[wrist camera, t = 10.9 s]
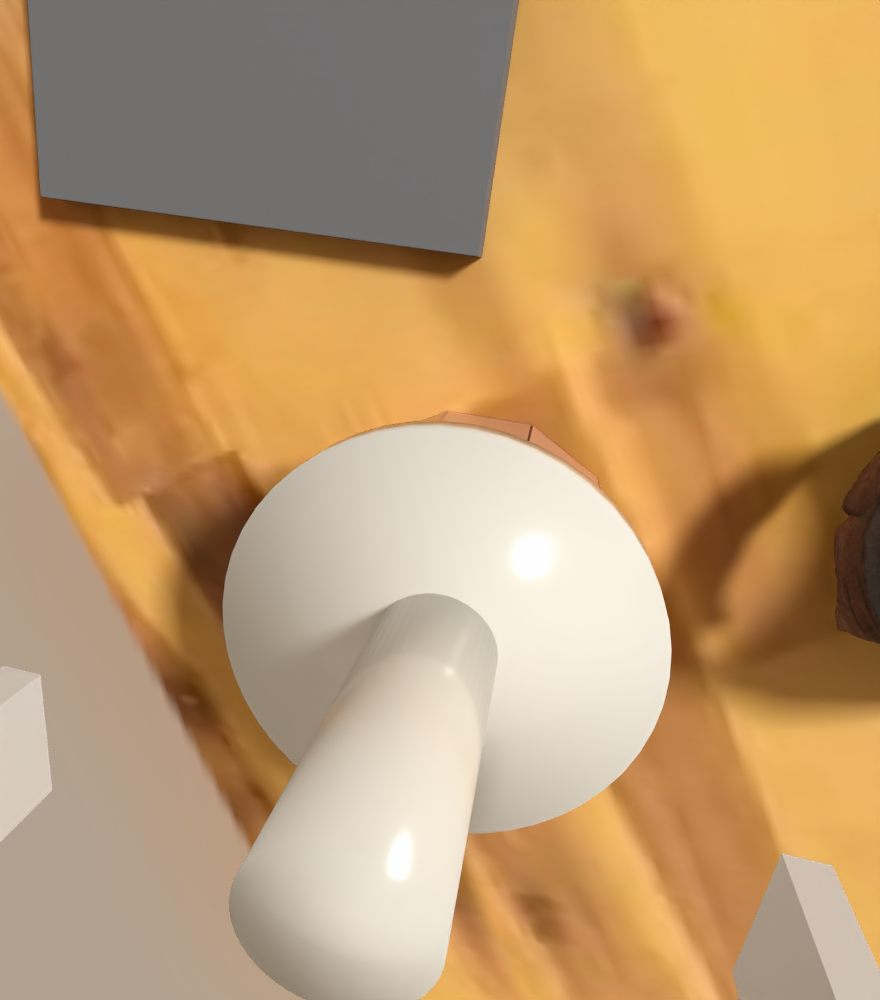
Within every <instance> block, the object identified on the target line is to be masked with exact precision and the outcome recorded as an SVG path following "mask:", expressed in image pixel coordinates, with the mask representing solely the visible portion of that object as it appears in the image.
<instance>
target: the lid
mask: <svg viewBox="0 0 880 1000" xmlns="http://www.w3.org/2000/svg"><path fill="white" fill-rule="evenodd" d="M223 629H224V635H225V641H226V647H227V653H228V656H229V660H230V663H231V666H232V670H233V673H234V676H235V679H236V681H237V683H238V686H239V688H240V690H241V692H242V695H243V697H244V699H245V701H246V703H247V704H248V706H249V708H250V710H251V711H252V713H253V715H254V716H255V718H256V720H257V721H258V723H259V724H260V726H261V727H262V728H263V730H264V731H265V732H266V734H267V735H268V736H269V738H270V739H271V740H272V742H273V743H274V744H275V745H276V746H277V747H278V748H279V749H280V750H281V751H282V752H283V753H284V755H285V756H286V757H287V758H288V759H289V760H290V761H291V762H292V763H293V764H295V765H296V766H297V767H296V769H295V771H294V773H293V774H292V776H291V778H290V780H289V782H288V783H287V785H286V787H285V789H284V791H283V792H282V794H281V796H280V798H279V800H278V801H277V803H276V805H275V807H274V809H273V810H272V812H271V814H270V816H269V818H268V819H267V821H266V823H265V825H264V827H263V828H262V830H261V832H260V834H259V836H258V837H257V839H256V841H255V843H254V845H253V846H252V848H251V850H250V852H249V854H248V856H247V857H246V859H245V861H244V863H243V865H242V866H241V868H240V870H239V872H238V874H237V876H236V877H235V879H234V881H233V885H232V887H231V890H230V897H229V911H230V917H231V922H232V925H233V928H234V930H235V933H236V935H237V937H238V939H239V941H240V943H241V945H242V946H243V948H244V950H245V951H246V953H247V954H248V955H249V957H250V958H251V959H252V960H253V961H254V962H255V964H256V965H257V966H258V967H259V968H260V969H261V970H262V971H263V972H264V973H265V974H266V975H268V976H269V977H270V978H271V979H273V980H274V981H275V982H276V983H278V984H279V985H281V986H282V987H284V988H285V989H287V990H288V991H290V992H292V993H294V994H296V995H297V996H299V997H301V998H303V999H306V1000H419V999H420V998H422V997H423V996H424V995H425V994H427V993H428V992H429V991H430V990H431V989H432V988H433V986H434V985H435V984H436V983H437V981H438V979H439V977H440V975H441V974H442V971H443V968H444V965H445V960H446V955H447V949H448V943H449V938H450V932H451V926H452V920H453V915H454V909H455V903H456V898H457V892H458V886H459V880H460V875H461V869H462V863H463V858H464V852H465V846H466V840H467V835H468V833H490V832H499V831H508V830H514V829H518V828H522V827H527V826H531V825H535V824H538V823H541V822H544V821H547V820H549V819H552V818H555V817H558V816H560V815H562V814H564V813H566V812H568V811H570V810H572V809H574V808H576V807H578V806H580V805H582V804H584V803H585V802H587V801H588V800H590V799H591V798H593V797H594V796H596V795H597V794H599V793H600V792H601V791H603V790H604V789H606V788H607V787H608V786H609V785H610V784H611V783H612V782H613V781H614V780H615V779H617V778H618V777H619V776H620V775H621V774H622V773H623V772H624V771H625V770H626V769H627V767H628V766H629V765H630V764H631V762H632V761H633V760H634V759H635V758H636V756H637V755H638V754H639V753H640V751H641V750H642V748H643V746H644V745H645V743H646V741H647V740H648V738H649V736H650V735H651V733H652V731H653V730H654V727H655V725H656V722H657V720H658V717H659V715H660V712H661V710H662V707H663V705H664V701H665V697H666V692H667V688H668V684H669V679H670V667H671V653H672V649H671V637H670V625H669V619H668V615H667V611H666V607H665V603H664V599H663V594H662V591H661V588H660V585H659V582H658V579H657V576H656V573H655V571H654V568H653V566H652V563H651V561H650V558H649V556H648V554H647V551H646V549H645V547H644V545H643V544H642V542H641V540H640V539H639V537H638V535H637V533H636V532H635V530H634V528H633V527H632V525H631V523H630V522H629V521H628V519H627V518H626V517H625V516H624V514H623V513H622V512H621V511H620V509H619V508H618V507H617V506H616V504H615V503H614V502H613V501H612V499H611V498H610V497H609V496H608V495H606V494H605V493H604V492H603V491H602V490H601V489H600V488H599V487H598V486H597V485H596V484H595V483H594V482H593V481H592V480H591V479H590V478H589V477H587V476H586V475H585V474H583V473H582V472H581V471H579V470H578V469H576V468H575V467H574V466H572V465H571V464H570V463H568V462H567V461H566V460H564V459H562V458H561V457H559V456H557V455H555V454H553V453H552V452H550V451H548V450H546V449H544V448H543V447H541V446H539V445H537V444H535V443H532V442H530V441H527V440H525V439H522V438H520V437H517V436H515V435H512V434H510V433H507V432H504V431H500V430H496V429H492V428H488V427H484V426H480V425H476V424H468V423H459V422H451V421H412V422H405V423H399V424H392V425H385V426H381V427H378V428H374V429H371V430H368V431H364V432H361V433H357V434H355V435H353V436H350V437H348V438H346V439H344V440H342V441H339V442H337V443H335V444H333V445H331V446H329V447H328V448H326V449H324V450H323V451H321V452H320V453H318V454H317V455H315V456H313V457H312V458H310V459H309V460H307V461H306V462H304V463H303V464H301V465H300V466H298V467H297V468H295V469H294V470H293V471H292V472H290V473H289V474H288V475H287V476H286V477H285V478H284V479H282V480H281V481H280V482H279V483H278V484H277V485H275V486H274V487H273V488H272V489H271V491H270V492H269V493H268V494H267V495H266V496H265V498H264V499H263V500H262V501H261V502H260V503H259V505H258V506H257V507H256V508H255V510H254V511H253V513H252V515H251V516H250V518H249V519H248V521H247V523H246V524H245V526H244V527H243V529H242V531H241V533H240V536H239V538H238V540H237V543H236V545H235V547H234V550H233V552H232V555H231V558H230V562H229V566H228V570H227V574H226V578H225V586H224V595H223Z"/></svg>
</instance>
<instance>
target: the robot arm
mask: <svg viewBox="0 0 880 1000" xmlns="http://www.w3.org/2000/svg"><path fill="white" fill-rule="evenodd" d="M51 791H52V784H51V773H50V763H49V755H48V744H47V734H46V724H45V714H44V704H43V694H42V684H41V675H40V674H35V673H31V672H28V671H23V670H19V669H15V668H11V667H6V666H2V667H1V668H0V842H1V841H2V840H3V839H4V838H5V837H6V836H7V835H8V834H9V833H10V832H11V831H12V830H13V829H14V828H15V827H16V826H17V825H18V824H19V823H20V822H21V821H22V820H23V819H24V818H25V817H26V816H27V815H28V814H29V813H30V812H31V811H32V810H33V809H34V808H35V807H36V806H37V805H38V804H39V803H40V802H41V801H42V800H43V799H44V798H45V797H46V796H47V795H48V794H49V793H50V792H51ZM733 975H734V979H735V983H736V988H737V992H738V996H739V1000H880V970H879V968H878V966H877V963H876V961H875V959H874V957H873V955H872V952H871V950H870V948H869V946H868V943H867V941H866V939H865V937H864V934H863V932H862V930H861V928H860V926H859V923H858V921H857V919H856V917H855V914H854V912H853V910H852V908H851V905H850V903H849V901H848V899H847V897H846V894H845V892H844V890H843V888H842V885H841V883H840V881H839V879H838V876H837V874H836V872H835V870H834V868H833V866H832V865H828V864H824V863H820V862H816V861H812V860H808V859H803V858H799V857H795V856H791V855H787V854H783V853H782V854H781V857H780V859H779V861H778V864H777V866H776V869H775V871H774V873H773V876H772V878H771V880H770V883H769V885H768V888H767V890H766V892H765V895H764V897H763V900H762V902H761V904H760V907H759V909H758V912H757V914H756V916H755V919H754V921H753V924H752V926H751V928H750V931H749V933H748V935H747V938H746V940H745V943H744V945H743V947H742V950H741V952H740V955H739V957H738V959H737V962H736V964H735V967H734V969H733Z"/></svg>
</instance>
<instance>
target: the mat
mask: <svg viewBox="0 0 880 1000" xmlns="http://www.w3.org/2000/svg"><path fill="white" fill-rule="evenodd" d="M518 2H519V0H28V13H29V28H30V43H31V59H32V74H33V89H34V104H35V119H36V134H37V149H38V165H39V180H40V195H41V196H42V197H48V198H53V199H59V200H65V201H73V202H80V203H87V204H95V205H102V206H109V207H117V208H124V209H131V210H139V211H146V212H153V213H160V214H168V215H175V216H182V217H190V218H197V219H204V220H212V221H219V222H226V223H234V224H241V225H248V226H256V227H263V228H270V229H277V230H285V231H292V232H299V233H307V234H314V235H321V236H329V237H336V238H343V239H351V240H358V241H365V242H373V243H380V244H387V245H394V246H402V247H409V248H416V249H424V250H431V251H438V252H446V253H453V254H460V255H468V256H475V257H482V252H483V245H484V238H485V232H486V225H487V218H488V211H489V204H490V197H491V190H492V183H493V176H494V169H495V162H496V155H497V148H498V141H499V134H500V127H501V120H502V113H503V106H504V99H505V92H506V86H507V79H508V72H509V65H510V58H511V51H512V44H513V37H514V30H515V23H516V16H517V9H518Z"/></svg>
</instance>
